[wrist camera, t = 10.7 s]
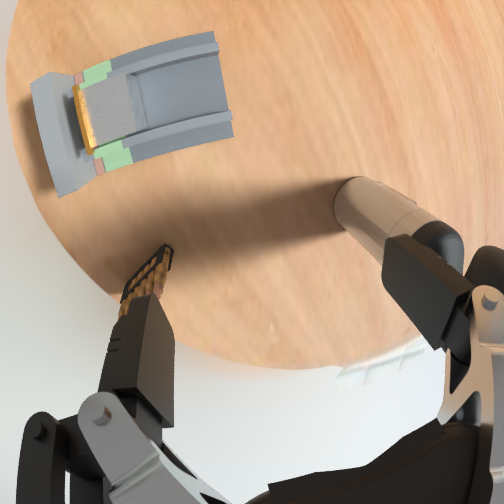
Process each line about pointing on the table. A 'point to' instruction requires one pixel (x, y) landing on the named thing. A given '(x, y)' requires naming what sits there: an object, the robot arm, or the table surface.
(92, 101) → the plunger
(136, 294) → the ammunition clip
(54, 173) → the base
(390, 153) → the table surface
